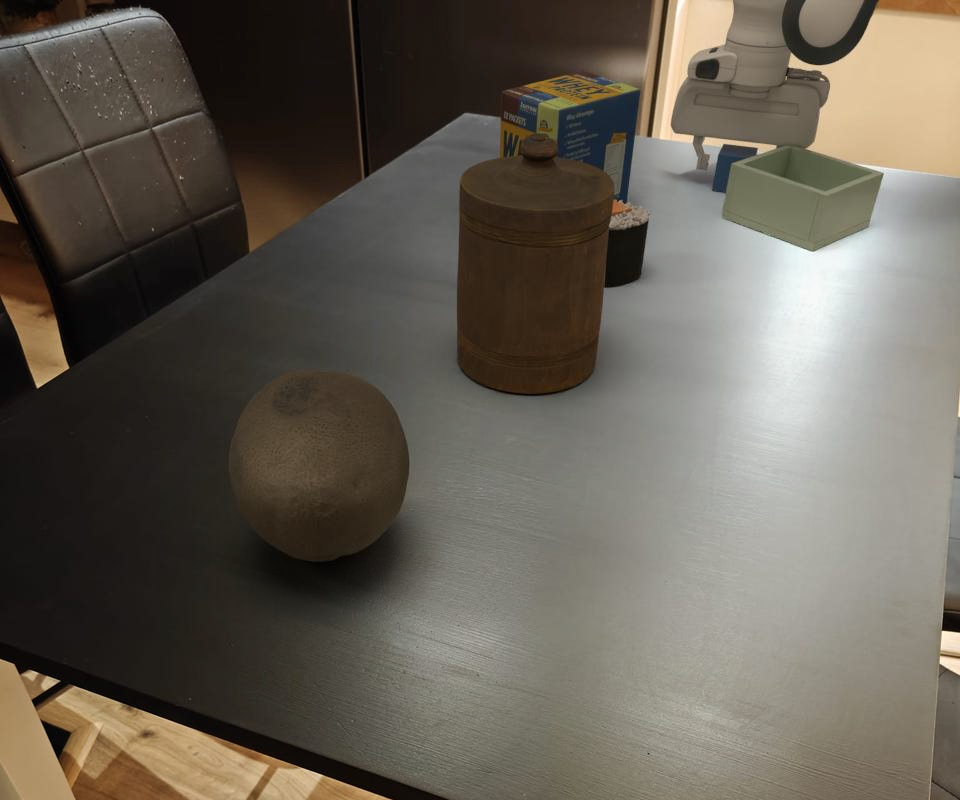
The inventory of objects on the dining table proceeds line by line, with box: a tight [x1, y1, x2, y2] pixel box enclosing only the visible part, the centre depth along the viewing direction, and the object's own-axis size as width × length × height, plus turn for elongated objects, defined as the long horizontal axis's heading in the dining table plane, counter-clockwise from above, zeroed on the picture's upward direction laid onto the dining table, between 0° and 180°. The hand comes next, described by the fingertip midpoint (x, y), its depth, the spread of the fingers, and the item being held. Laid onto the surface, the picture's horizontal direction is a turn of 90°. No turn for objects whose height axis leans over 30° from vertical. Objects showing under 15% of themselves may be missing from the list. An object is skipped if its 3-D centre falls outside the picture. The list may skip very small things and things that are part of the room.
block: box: [711, 143, 759, 193], centre depth 136 cm, size 5×5×5 cm
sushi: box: [604, 199, 651, 288], centre depth 113 cm, size 8×8×8 cm
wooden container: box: [456, 133, 614, 395], centre depth 92 cm, size 15×15×22 cm
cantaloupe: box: [228, 368, 410, 563], centre depth 71 cm, size 14×14×15 cm
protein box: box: [499, 70, 642, 204], centre depth 124 cm, size 10×15×16 cm
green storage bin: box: [721, 145, 885, 252], centre depth 126 cm, size 15×13×7 cm
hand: (734, 172), depth 136 cm, fingers open, 8 cm apart
